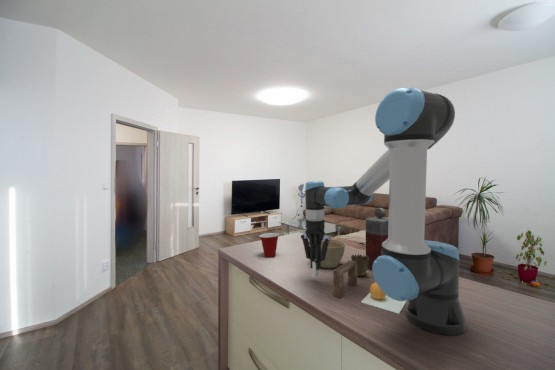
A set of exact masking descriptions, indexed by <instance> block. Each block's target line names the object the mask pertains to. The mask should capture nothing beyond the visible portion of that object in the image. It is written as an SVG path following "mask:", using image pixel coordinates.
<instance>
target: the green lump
mask: <svg viewBox="0 0 555 370" xmlns="http://www.w3.org/2000/svg"><path fill="white" fill-rule="evenodd" d="M350 260H353V261H357V277H364V276H365V274H366V272H367V271H368V270H369V269H368V266H369V257H367V256H366V255H364V254H363V255H362V254H355V255H354V254H352V255H351V259H350Z"/></svg>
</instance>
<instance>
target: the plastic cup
mask: <svg viewBox="0 0 555 370" xmlns="http://www.w3.org/2000/svg"><path fill="white" fill-rule="evenodd" d="M279 235H280V233H278V232H267V233H262V234H259V238H260V240H261V241H260V242H261V246H262V250H263V255H264V257H265V258H269V259H271V258H275V257H276V253H277V246H278V240H279Z"/></svg>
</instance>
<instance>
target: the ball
mask: <svg viewBox="0 0 555 370" xmlns="http://www.w3.org/2000/svg"><path fill="white" fill-rule="evenodd" d="M369 293H371V295H372V296H373V297H374V298H375V299H383V298H384V297H385V296H386V294H385V293H383V292H382V290H381V289H380V287H379V286H378V285H377V283H376V281H375V282H373V283H372V284H370V286H369Z"/></svg>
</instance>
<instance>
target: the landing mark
mask: <svg viewBox="0 0 555 370" xmlns="http://www.w3.org/2000/svg"><path fill="white" fill-rule="evenodd" d="M407 302H408V300H406V301H397V300H394V299H392V298H390V297H388V296H387V295H386V296H385V297H384V298H383V299H375V298H374V297H373V296H372V295H371V293H370V292H369V293H368V294H367V295H366V296H365V297H364V298H363V299H362V300H361V302H360V303H362V304H365V305H368V306H371V307H375V308H377V309H381V310H385V311H387V312H391V313H394V314H398V315H400V313H401V312H402V310H403V308H404V306H406V304H407Z"/></svg>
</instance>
